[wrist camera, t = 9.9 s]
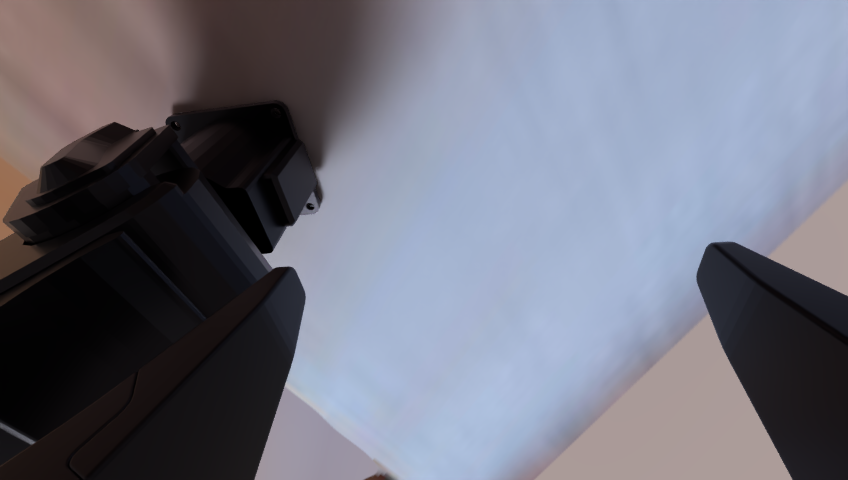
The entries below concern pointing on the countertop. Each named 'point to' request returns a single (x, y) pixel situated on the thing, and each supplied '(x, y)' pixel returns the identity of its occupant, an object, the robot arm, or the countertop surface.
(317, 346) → the countertop surface
